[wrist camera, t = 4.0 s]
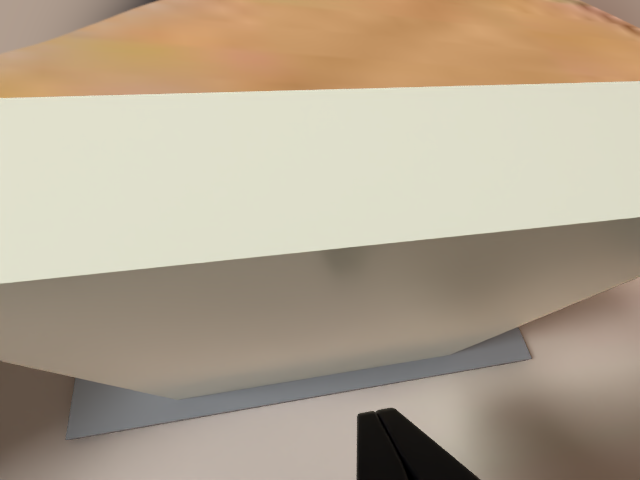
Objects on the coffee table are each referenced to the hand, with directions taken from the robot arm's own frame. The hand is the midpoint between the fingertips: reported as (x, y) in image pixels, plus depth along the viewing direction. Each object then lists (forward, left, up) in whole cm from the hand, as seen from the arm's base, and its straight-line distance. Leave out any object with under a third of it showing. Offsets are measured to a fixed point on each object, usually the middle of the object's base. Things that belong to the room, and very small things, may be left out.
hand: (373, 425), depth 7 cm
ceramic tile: (+3, 0, -7) cm, 8 cm away
